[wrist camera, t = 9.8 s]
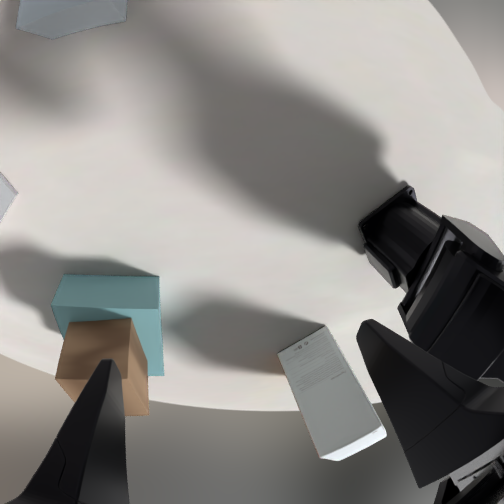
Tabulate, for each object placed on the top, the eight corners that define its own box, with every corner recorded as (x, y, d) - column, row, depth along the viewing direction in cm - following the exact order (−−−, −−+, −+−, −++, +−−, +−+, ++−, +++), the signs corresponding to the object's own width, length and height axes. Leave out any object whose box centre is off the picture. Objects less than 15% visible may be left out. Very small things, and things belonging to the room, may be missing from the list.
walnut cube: (131, 317, 18) (127, 378, 14) (147, 361, 20) (149, 415, 16) (69, 322, 17) (55, 379, 12) (92, 363, 19) (86, 415, 15)
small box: (275, 352, 29) (318, 459, 19) (326, 323, 29) (384, 425, 18) (300, 377, 34) (337, 462, 23) (342, 353, 34) (388, 435, 23)
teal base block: (159, 274, 21) (158, 309, 18) (162, 341, 25) (164, 375, 22) (65, 271, 19) (50, 305, 15) (84, 339, 23) (78, 372, 19)
